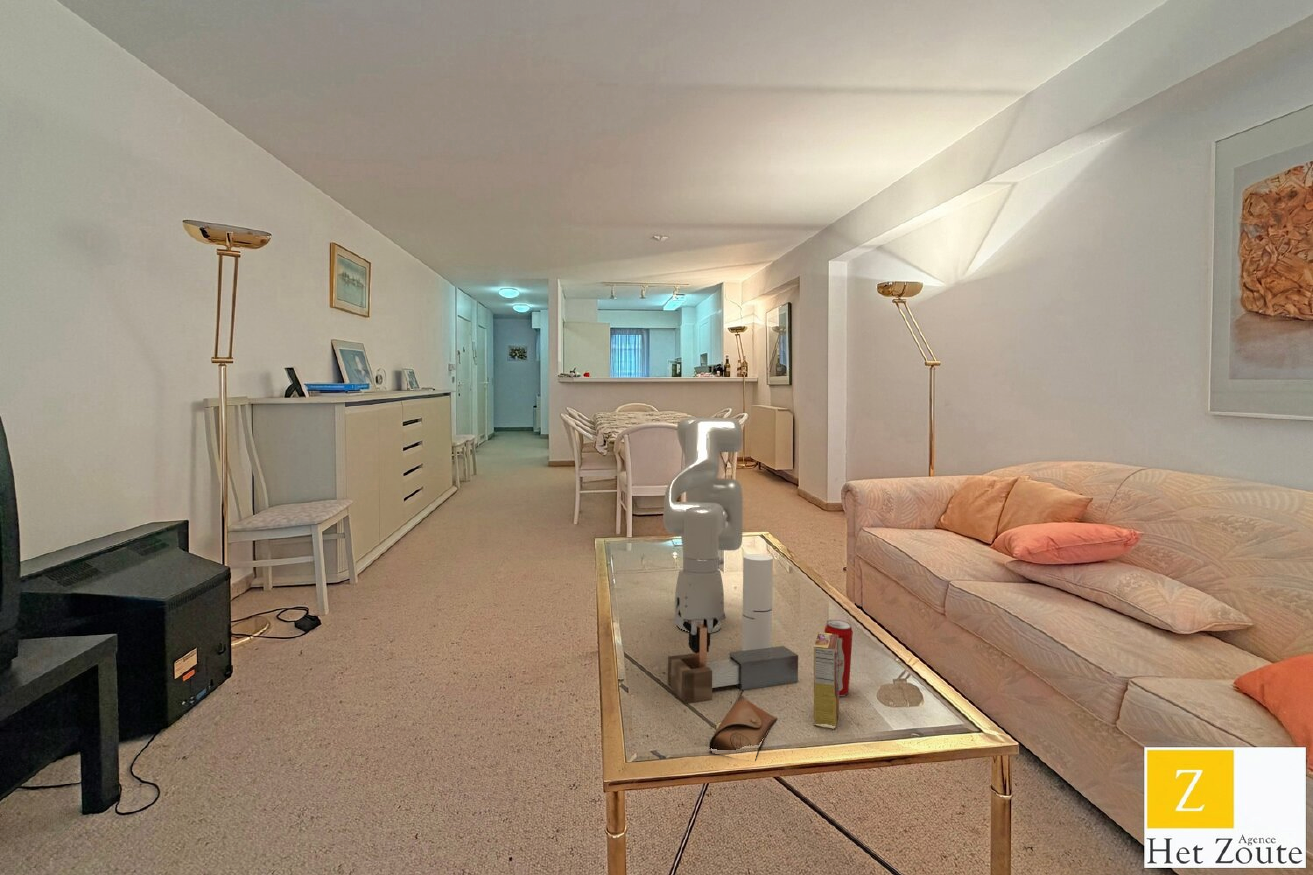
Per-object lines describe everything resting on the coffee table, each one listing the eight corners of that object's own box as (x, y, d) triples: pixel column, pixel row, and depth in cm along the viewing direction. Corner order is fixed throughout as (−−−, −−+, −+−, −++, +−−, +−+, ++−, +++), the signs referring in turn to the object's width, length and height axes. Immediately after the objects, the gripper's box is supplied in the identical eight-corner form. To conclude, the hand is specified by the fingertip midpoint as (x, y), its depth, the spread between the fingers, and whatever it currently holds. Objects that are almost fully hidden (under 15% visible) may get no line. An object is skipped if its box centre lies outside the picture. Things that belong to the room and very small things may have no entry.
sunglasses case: (757, 763, 98) (737, 725, 99) (722, 776, 100) (703, 738, 101) (779, 717, 114) (762, 684, 115) (748, 729, 117) (732, 697, 118)
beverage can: (829, 683, 130) (830, 616, 130) (857, 692, 125) (858, 623, 125) (815, 691, 126) (816, 621, 126) (843, 701, 121) (844, 629, 121)
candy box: (817, 705, 119) (818, 631, 119) (839, 709, 118) (840, 634, 118) (811, 725, 111) (813, 645, 111) (835, 730, 109) (836, 648, 109)
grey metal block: (729, 679, 132) (729, 652, 132) (783, 671, 136) (783, 645, 136) (741, 690, 126) (742, 662, 126) (797, 681, 131) (798, 655, 131)
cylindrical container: (771, 665, 140) (772, 560, 140) (741, 662, 141) (742, 559, 141) (771, 654, 147) (772, 555, 147) (742, 651, 148) (744, 553, 148)
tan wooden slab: (691, 682, 127) (692, 622, 127) (748, 674, 132) (749, 616, 132) (699, 689, 124) (700, 628, 124) (757, 681, 128) (758, 622, 128)
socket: (667, 683, 129) (668, 656, 129) (692, 680, 131) (693, 653, 131) (685, 703, 119) (685, 674, 119) (711, 699, 121) (712, 670, 121)
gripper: (725, 559, 132) (724, 640, 132) (660, 563, 127) (658, 648, 127) (741, 566, 125) (740, 652, 125) (672, 571, 119) (671, 661, 120)
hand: (699, 649), depth 126 cm, fingers closed on tan wooden slab
